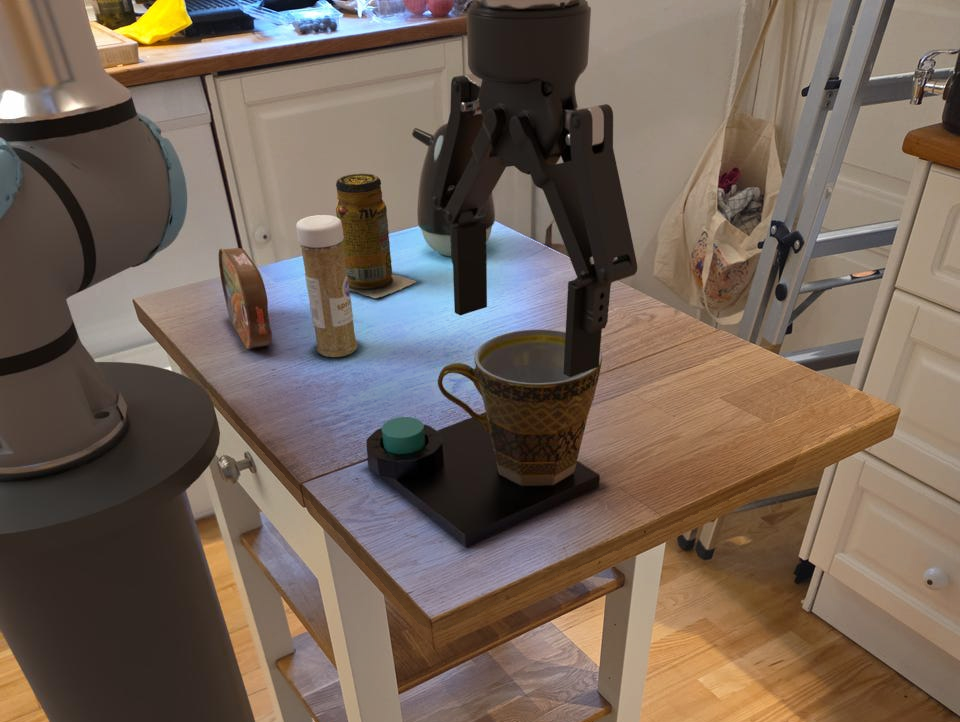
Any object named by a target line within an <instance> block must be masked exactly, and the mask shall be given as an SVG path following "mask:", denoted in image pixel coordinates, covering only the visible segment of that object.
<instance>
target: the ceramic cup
mask: <svg viewBox="0 0 960 722" xmlns="http://www.w3.org/2000/svg"><path fill="white" fill-rule="evenodd" d="M565 334H566V331H563V330H556V329H523V330H522V329H521V330H515V331H510V332H507V333H503V334H500V335H497V336H494V337H492V338H490V339H488V340H487V341H485V342H484V343H482V344H481V345H480V346H479V347H478V348H477V349H476V351H475V354H474V358H473V360H474V365H475V367H474V368H473V367H472V366H471V365H468V364H466V363H462V362H454V363H453V362H452V363H450V364H447V365H446V366H444V367H443V368H442V369H441V371H440V372H439V374H438V378H437V387H438V390H439V391H440V393H441V394H442V396H444V397H445V398H446V399H447V400H449V401H450V402H451V403H453V404H455V405H457V406H458V407H460V408H462V410H464V411H465V412H466V413H467V414H468V415H469V416H470V417H473V418H474V419H476V420H477V421H479V422H480V423H481V424H482V425H483V426H484V428H485V429H486V431H487V432H488V433H489V434H490V437H491V440H492V444H493V448H494V452H495V457H496V461H497V467H498V472H499V474H500V475H502V476H504V477H505V478H507V479H509V480H511V481H513V482H515V483H517V484H519V485H521V486H541V485H554V484H556V483H558V482H559V481H561V480H563V479H564V478H566V477H568V476H569V475H571V474H573V472H574V471H575V467H576V463H577V461H578V459H579V454H580V450H581V445H582V442H583V439H584V433H585V428H586V426H587V421H588V417H589V414H590V411H591V408H592V405H593V402H594V398H595V394H596V390H597V387H598V383H599V377H600V373H601V368H602V362H603V354H602V351H600V358H599V367H597V368H594V369H591V370H589V371H586V372H583V373H581V374H578V375H575V376H573V377H569V376H567V375H565V374H563V372H564V353H565ZM449 374H459V375H461V376H463V377H465V378H466V379H468V380H470V382H472V383H473V385H474V387H475V388H476V390H477V391H478V393H479V395H480V396H481V398H482V402H483V406H484V412H486V413H485V415H479V414H480V413H477V412H476V411H474V410H473V409H472V408H471V406H469V405H468V404H467V403H465V401H462V400H461V399H459V398H458V397H456V396H455V395H453V394H451V393H450V392H449V391H448V390H446V388H445V387H444V383H443V381H444V378H445V376H447V375H449Z"/></svg>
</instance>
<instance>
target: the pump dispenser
mask: <svg viewBox="0 0 960 722" xmlns="http://www.w3.org/2000/svg"><path fill="white" fill-rule="evenodd" d="M447 124H448V122H446V123H444V124H442V125H440V126H439V127H438V128H437V129H436V130H435V132H434V134H431V133H429V132H427V131H424V130H422V129H420V128H417V127H415V128H414V129H412V131H411V132H412V133H411V135H412V138H414V139H415V140H417V141H419V142H421V143H422V144H424V146H426V147H427V150H426V153H425V156H424V159H423V163H422V167H421V173H420V179H419V184H418V194H417V210H416V211H417V214H416V215H417V225H418V227H419V228H420V231H421V234H422V236H423V238H424V241H425V243H426V244H427V245H428V246H429V247H430V249H432V250H433V251H434V252H436V253H437V254H439V255H443V256H444V257H451V242H450V225H449V224H447V222H446V220H445V216H444V212H443V211H442V210H441V209H438V210H435V209H434V208H433V207H432V204H431V193H432V188H433V184H434V180H435V176H436V171H437V167H438V163H439V158H440V154H441V150H442V146H443V141H444V137H445V133H446V128H447ZM451 188H453V185H450V186H449V187H448V189H451ZM493 196H494V195H493V192H492V193H491V195H490V196H489V198H488V200H487V202H486V203H485V205H484V207H483V210H484V212H482V213H481V214H486V215H485V216H483V217H479V218H475V219H474V222H477V221H482V222H485V223H486V243H487V242H488V241H489V238H490V236H491V233H492V230H493V229H492V228H493V225H494V224H495V222H496V214H495V213H496V212H495V204H494V197H493Z"/></svg>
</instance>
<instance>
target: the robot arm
mask: <svg viewBox="0 0 960 722" xmlns="http://www.w3.org/2000/svg"><path fill="white" fill-rule="evenodd" d="M591 13H592V7H591V6H589V2H588V1H587V0H473V1H471V2H470V4H469V7H467V9H466V35H467V37H466V40H467V41H466V42H467V66H468V69H469V71H470V73H468V74H461V75H457V76H453V77H452V79H451V82H450V107H449V108H450V109H449V111H450V112H449V116H448V120H447V123H448V124H447V128H446V133H445V137H444V141H443V146H442V150H441V154H440V158H439V163H438V167H437V171H436V176H435V180H434V184H433V188H432V193H431V204H432V207H433V208H434V209H435V210H438V209H441V210H442V211H443V212H444V216H445V220H446V222H447V224H449V225H450V242H451V263H452V277H453V278H452V279H453V305H454V308H453V309H454V314H456V315H458V316H463V315H466V314H469V313H473V312H476V311H480V310H482V309H486V308H488V276H487V275H488V272H487V271H488V268H487V262H488V260H487V258H488V257H487V242H486V223H485V222H482V221H477V222H474V219H475V218H479V217H483V216H485V215H486V214H481V213H482V212H484V210H483V207H484V205H485V203H486V202H487V200H488V198H489V196H490V195H491V193H492V194H493V192H494V189H496V186H497V185H498V182H499V180H500V179H501V177H502V175H503V173H504V172H505V170H506V169H507V168H509V167H514V168H516V169H517V170H518V171H519V172H520V173H522V174H525V175H528V176H529V175H530V178H531V180H532V182H533V184H534V185H535V187H537V188H539V189H541V190H542V191H543V193H544V196H545V198H546V201H547V203H548V206H549V209H550V212H551V214H552V216H553V220H554V222H555V224H556V227H557V229H558V232H559V234H560V237H561V240H562V242H563V245H564V247H565V250H566V252H567V254H568V257H569V260H570V262H571V265H572V268H573V271H574V273H575V275H576V278H575V279H572V280H570V281H567V297H566V298H567V299H566V317H565V332H566V334H565V353H564V372H563V374H565V375H567V376H569V377H573V376H575V375H578V374H581V373H583V372H586V371H589V370H591V369H594V368H597V367H599V358H600V352H601V346H602V345H601V343H602V332H603V329H606V327H607V324H608V321H609V320H608V319H609V310H610V309H609V307H610V300H611V299H610V297H611V287H612V284H613V283H615V282H617V281H621V280H624V279H626V278H631V277H633V276H634V275H636V274H637V272H638V262H637V257H636V252H635V248H634V247H635V246H634V243H633V238H632V233H631V228H630V223H629V218H628V213H627V209H626V204H625V199H624V194H623V189H622V183H621V180H620V175H619V174H620V173H619V170H618V166H617V165H618V164H617V159H616V156H615V155H616V154H615V149H614V111H613V108H612V107H611V105H610V104H607V103H603V104H600V105H595V106H589V107H579V106H578V101H577V96H576V84H577V81H578V79H579V77H580V76H581V75H582V74H583V73H584V72H585V70H586V69H587V68H588V64H589V51H590V50H589V49H590V31H591V15H592V14H591ZM100 55H101V54H100V52H99V49H98V46H97V41H96V39H95V36H94V33H93V30H92V26H91V24H90V20H89V18H88V14H87V10H86V8H85V4H84V1H83V0H0V482H13V481H26V480H33V479H39V478H45V477H49V476H53V475H57V474H61V473H64V472H67V471H70V470H73V469H76V468H78V467H81V466H83V465H85V464H88V463H90V462H92V461H94V460H95V459H97V458H99V457H101V456H102V455H104V454H105V453H107V452H108V451H110V450H111V449H112V448H114V447H115V446H116V445H117V444H118V443H119V442H120V441H121V440H122V439H123V437H124V436H125V434H126V433H127V430H128V428H129V417H128V414H127V405H126V403H125V401H124V399H123V397H122V395H121V393H120V394H119V393H118V391H117V390H116V389H115V387H114V386H113V385H112V383H111V382H110V381H109V379H108V378H107V377H106V375H105V374H104V373H103V371H102V370H101V369H100V367H99V366H98V365H97V363H96V362H97V361H96V360H95V359H94V358H93V356H92V355H91V353H90V352H89V351H88V350H87V348H86V347H85V346H84V344H83V342H82V341H81V338H80V336H79V332H78V330H77V327H76V325H75V322H74V319H73V316H72V312H71V310H70V306H69V303H68V301H67V299H69V298H70V297H72V296H75V295H76V294H78V293H80V292H83V291H86V290H87V289H89V288H91V287H93V286H95V285H97V284H99V283H101V282H103V281H105V280H107V279H109V278H111V277H114V276H115V275H117V274H120V273H121V272H124V271H127V270H128V269H130V268H135V267H139V266H141V265H143V264H146V263H147V262H150V260H152V259H153V258H154V257H155V256H156V255H157V254H158V253H160V252H162V251H164V250H165V249H167V248H168V247H169V246H171V244H173V243H174V242H175V240H177V237H178V236H179V234H180V232H181V230H182V228H183V226H184V224H185V220H186V215H187V211H188V189H187V182H186V181H187V180H186V177H185V173H184V169H183V166H182V163H181V160H180V158H179V155H178V153H177V151H176V149H175V148H174V145H173V144H172V142H171V140H170V139H169V138H167V137H163V136H162V129H161V128H160V127H159V126H158V125H157V124H156V122H154V121H153V120H151V119H150V118H149V117H148V116H146V115H143V114H142V113H140V112H137V109H136V105H135V102H134V99H133V96H132V92H131V90H129V89H128V87H126V86H124V85H123V84H122V83H120V82H119V81H117V80H116V78H114V77H112V76H111V75H110V74H109V73H108V72H107V70H105V67H104V65H103V61H102V58H101V56H100ZM560 159H561V160H562V162H560V163H558V162H559V160H560ZM450 185H453V188H451V189H448V187H449V186H450ZM591 258H592V260H593V263H592V262H591Z"/></svg>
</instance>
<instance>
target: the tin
mask: <svg viewBox="0 0 960 722" xmlns="http://www.w3.org/2000/svg"><path fill="white" fill-rule="evenodd" d="M218 267H219V273H220V274H219V276H220V280H221V286H222V292H223V297H224V300H225V306H226V309H227V313H228V316H229V319H230V322H231V324H232V326H233V328H234V329H235V331H236V333H237V335H238V336H239V338H240V340H241V342H242V343H243V345H244V347H245V348H246V349H247V350H250V349H254V348H261V347H267V346H269V345H271V343H272V341H273V339H272V338H273V332H272V329H271V325H270V317H269V302H268V295H267V290H266V286H265V283H264V279H263V277H262V274H261V272H260V270H259V269H258V267H257V265H256V264H255V263H254V261H253V260H252V258H251V256H249V254H248V253H247V251H246V250H245V249H244V248H240V247H233V248H219V250H218Z"/></svg>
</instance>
